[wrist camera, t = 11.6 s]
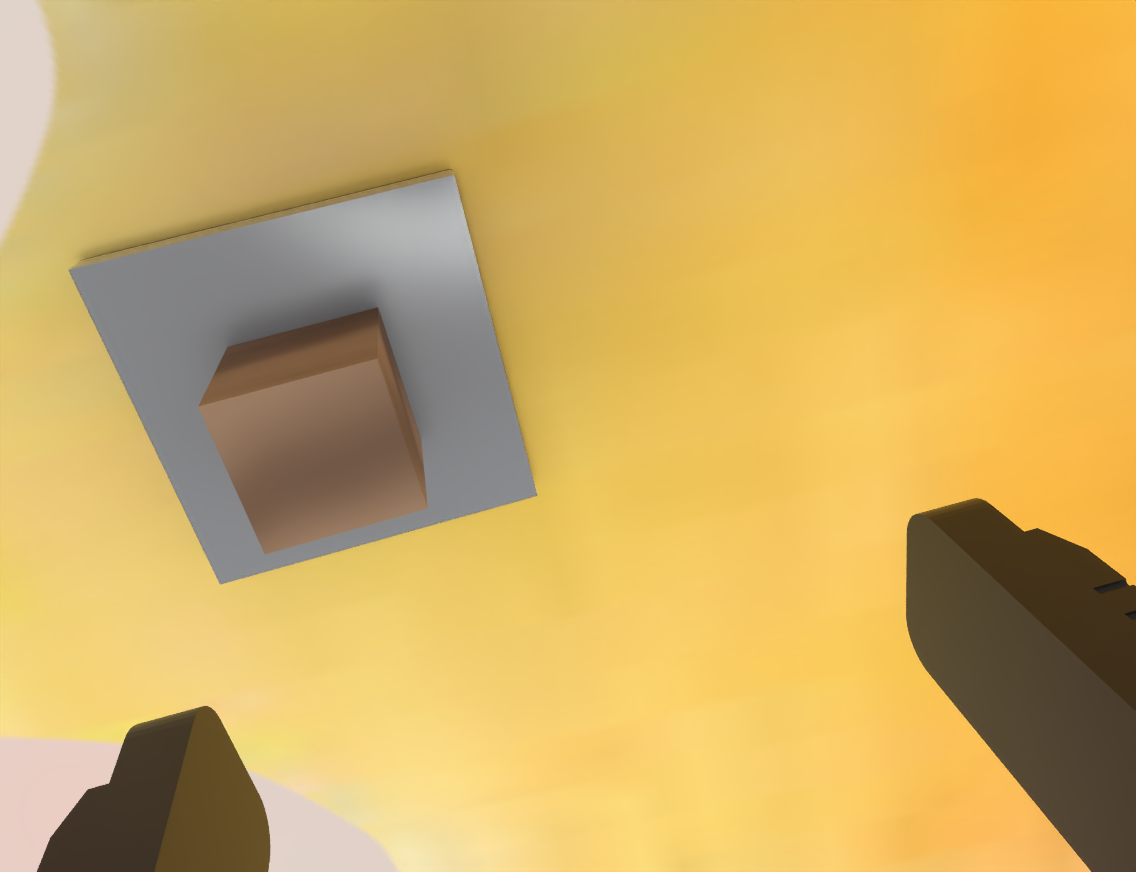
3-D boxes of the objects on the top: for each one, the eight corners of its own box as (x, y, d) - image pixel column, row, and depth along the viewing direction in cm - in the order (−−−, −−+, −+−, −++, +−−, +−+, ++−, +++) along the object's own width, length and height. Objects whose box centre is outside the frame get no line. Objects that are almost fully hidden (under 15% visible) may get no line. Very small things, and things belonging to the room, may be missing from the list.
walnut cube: (227, 346, 28) (197, 406, 24) (378, 307, 28) (377, 358, 24) (282, 477, 30) (264, 554, 26) (421, 439, 31) (427, 508, 26)
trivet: (80, 260, 27) (68, 269, 26) (451, 169, 28) (454, 174, 27) (225, 566, 33) (220, 584, 32) (532, 480, 34) (537, 495, 33)
